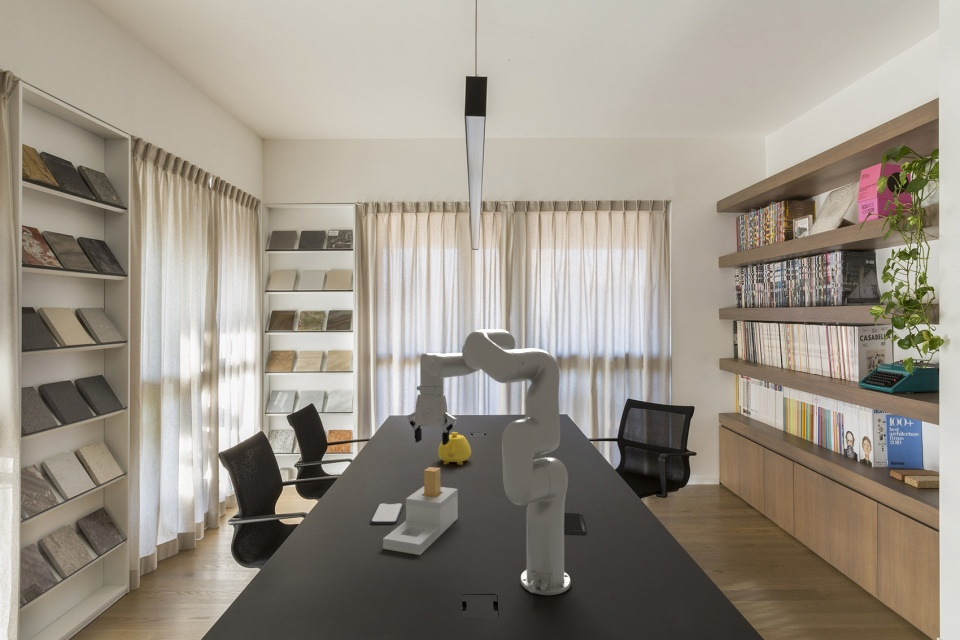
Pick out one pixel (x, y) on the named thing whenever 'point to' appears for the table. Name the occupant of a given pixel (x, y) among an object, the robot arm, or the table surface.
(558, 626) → the table surface
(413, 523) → the white stepped socket block
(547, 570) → the robot arm
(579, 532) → the phone
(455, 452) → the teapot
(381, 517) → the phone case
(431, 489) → the plug
